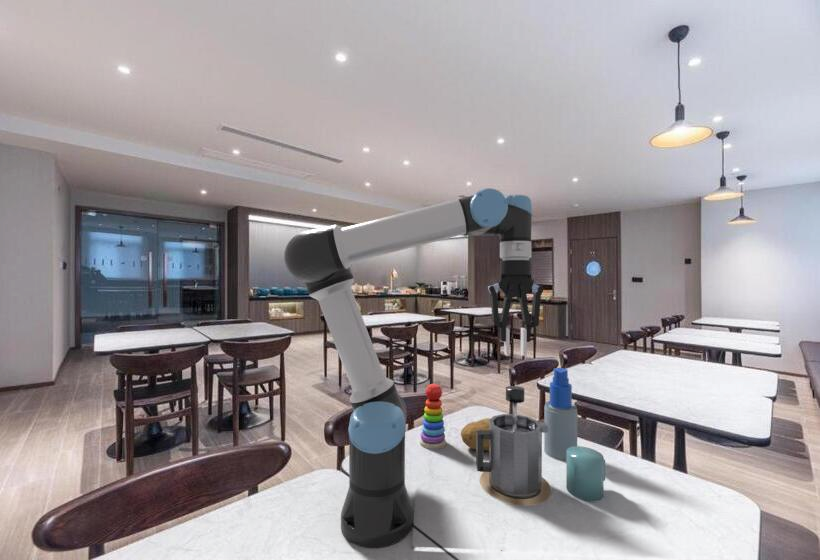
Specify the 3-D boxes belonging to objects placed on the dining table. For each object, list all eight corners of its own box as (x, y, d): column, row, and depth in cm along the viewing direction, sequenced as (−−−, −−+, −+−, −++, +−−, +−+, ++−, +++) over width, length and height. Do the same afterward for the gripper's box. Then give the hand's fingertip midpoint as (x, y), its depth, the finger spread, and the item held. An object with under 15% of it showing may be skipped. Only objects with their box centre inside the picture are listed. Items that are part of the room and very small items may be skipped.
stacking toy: (447, 451, 108) (447, 388, 108) (420, 451, 108) (420, 388, 108) (444, 439, 116) (445, 380, 116) (419, 439, 116) (419, 380, 116)
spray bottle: (547, 445, 112) (548, 364, 112) (579, 452, 107) (579, 368, 107) (541, 457, 105) (541, 370, 105) (574, 465, 100) (575, 374, 100)
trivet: (485, 506, 82) (485, 503, 82) (475, 467, 99) (475, 465, 99) (562, 509, 81) (562, 506, 81) (539, 469, 98) (539, 467, 98)
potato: (459, 442, 114) (459, 413, 114) (509, 443, 113) (509, 413, 113) (462, 456, 105) (462, 424, 105) (516, 457, 105) (516, 424, 105)
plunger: (499, 445, 86) (499, 394, 86) (492, 428, 95) (492, 382, 95) (539, 446, 85) (539, 394, 85) (528, 429, 94) (528, 383, 94)
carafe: (480, 497, 84) (480, 433, 84) (473, 469, 97) (473, 413, 97) (554, 500, 83) (554, 434, 83) (538, 471, 96) (538, 414, 96)
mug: (583, 506, 82) (583, 464, 82) (559, 487, 90) (559, 448, 90) (617, 499, 85) (617, 458, 85) (590, 480, 93) (591, 443, 92)
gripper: (484, 258, 86) (483, 357, 87) (554, 258, 86) (554, 358, 86) (479, 260, 94) (479, 351, 94) (544, 260, 93) (544, 352, 93)
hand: (515, 354), depth 90 cm, fingers open, 3 cm apart
